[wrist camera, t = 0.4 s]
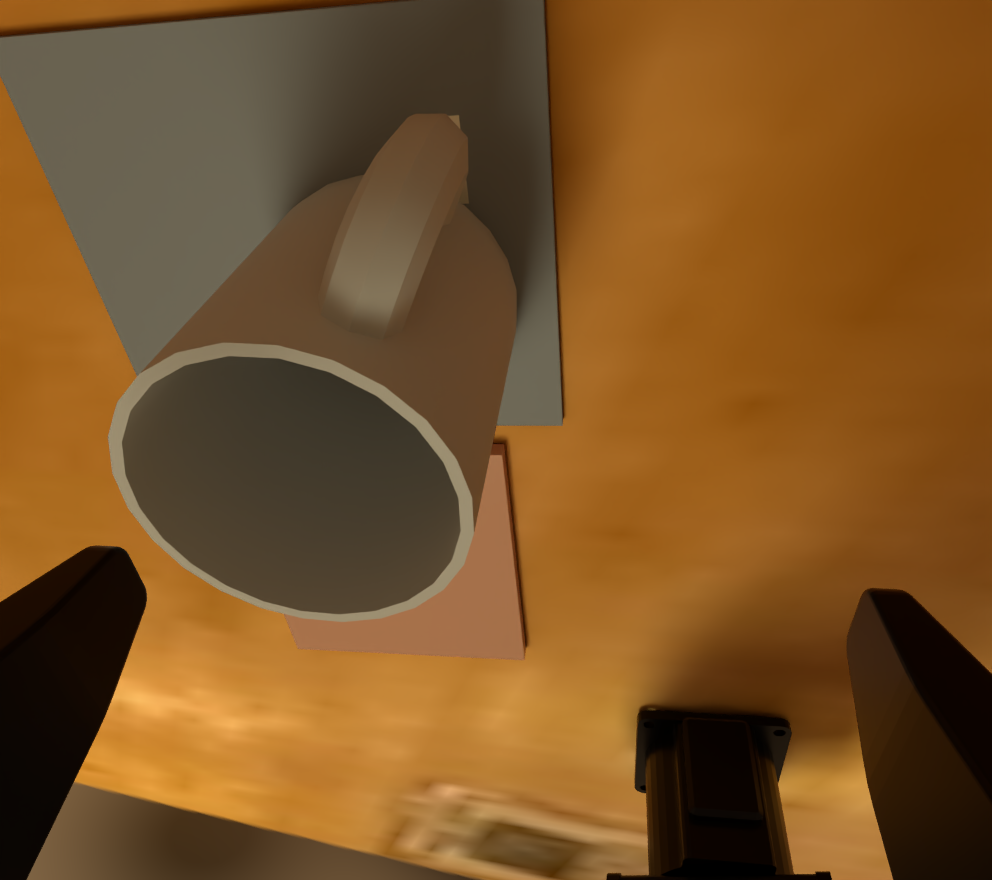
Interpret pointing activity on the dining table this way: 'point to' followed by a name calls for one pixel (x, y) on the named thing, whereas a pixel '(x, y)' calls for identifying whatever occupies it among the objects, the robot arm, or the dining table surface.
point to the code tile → (287, 147)
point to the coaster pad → (449, 598)
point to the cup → (333, 397)
